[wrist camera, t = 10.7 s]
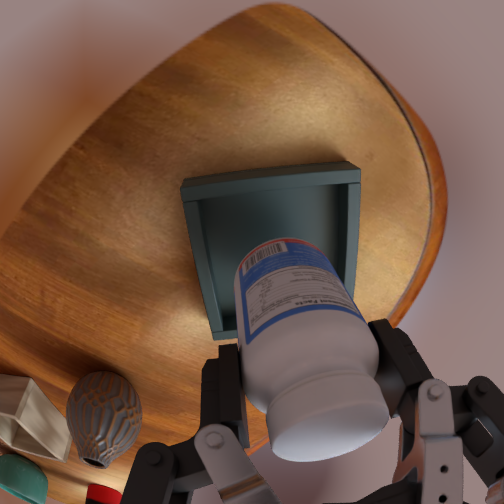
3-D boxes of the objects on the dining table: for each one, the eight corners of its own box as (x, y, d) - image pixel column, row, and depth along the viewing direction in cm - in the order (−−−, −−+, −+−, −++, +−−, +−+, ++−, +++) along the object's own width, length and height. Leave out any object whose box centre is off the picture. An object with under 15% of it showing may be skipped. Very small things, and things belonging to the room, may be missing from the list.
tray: (184, 178, 17) (179, 188, 15) (348, 161, 17) (361, 168, 15) (213, 322, 22) (213, 341, 20) (342, 304, 22) (351, 320, 20)
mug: (54, 469, 39) (46, 506, 31) (49, 478, 44) (42, 509, 35) (-15, 431, 34) (-27, 466, 25) (-11, 445, 38) (-21, 475, 29)
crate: (-21, 370, 24) (-37, 401, 19) (31, 377, 24) (14, 415, 20) (21, 419, 29) (11, 448, 24) (75, 428, 29) (66, 463, 25)
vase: (117, 353, 23) (93, 443, 15) (160, 398, 26) (151, 479, 18) (65, 366, 23) (37, 441, 16) (107, 407, 27) (92, 477, 19)
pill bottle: (311, 320, 18) (359, 463, 10) (225, 310, 18) (232, 471, 9) (343, 242, 16) (438, 384, 8) (246, 223, 15) (275, 392, 7)
